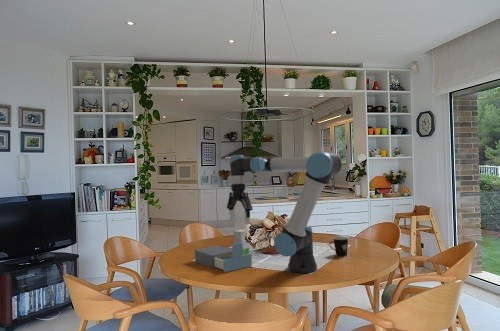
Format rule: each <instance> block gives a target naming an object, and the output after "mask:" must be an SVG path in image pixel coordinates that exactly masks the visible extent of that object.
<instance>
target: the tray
mask: <svg viewBox="0 0 500 331" xmlns="http://www.w3.org/2000/svg"><path fill="white" fill-rule="evenodd" d="M231 248H232V253H228V254H223V255H218V256H213V258H214V266H215V267H217V269H220V270H223V273H227V272H232V271H233V272H234V271H237V270H241V269H244V268H248V267H252V265H253V262H252V258H253V256H252V253H250V254H247V255H243V246H242V243H236V244H234V243H233V244H231Z"/></svg>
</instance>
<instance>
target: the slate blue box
mask: <svg viewBox="0 0 500 331" xmlns="http://www.w3.org/2000/svg"><path fill="white" fill-rule="evenodd" d="M228 253H232V247H228V246H226V245H225V246H224V245H221V244H218V245H214V246H209V247H203V248H198V249H194V261H195V262H196V263H197V264H200V265H203V266H206V267H208V268H211V269H216V268H217V267H215V266H214V258H213V256H218V255H223V254H228ZM217 269H218V268H217Z"/></svg>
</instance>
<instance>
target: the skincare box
mask: <svg viewBox="0 0 500 331" xmlns="http://www.w3.org/2000/svg"><path fill="white" fill-rule="evenodd" d="M246 230H247V229H237V230H233V231H232V232H233V244H236V243H242V246H243V255H247V254H251V253H250V242H249V243H247V242H246V240H245V235H246Z"/></svg>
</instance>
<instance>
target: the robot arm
mask: <svg viewBox="0 0 500 331" xmlns="http://www.w3.org/2000/svg"><path fill="white" fill-rule="evenodd" d="M229 166H230V183H231V185H230V187H231V189H230V190H231V192H229V197H228V200H227V204H226V209H228V211H229V222H230V223H234V222H235V221H236V219H235V218H236V217H235V216H236V215H235V206H236V204H237V202H240V203H241V205H242V207H243V209H244V224H245V225H248V224H251V211H253V205H252V202H251V200H250V197H249V193H248V192H245V190H246V184H245V182H246V180H245V179H246V178H245V173H259V172H288V173H289V172H293V173H295V172H298V173H299V172H300V173H301V172H305V174H304V176H305V178H306V180H305V182H304V185H303V187H302V189H301V192H300V194H299V197H298V198H297V202H296V204H295V206H294V208H293V211H292V213H291V215H290V218H289V220H288V222H286V223H284V224H283V226H282V228H281V230H280V233H278V234H277V235H276V236H275V237H274V240H273V245H274V248H275V251H277V253H278V254H279V255H281V256H282V257H289V259H288V260H289V261H288V263H287V270H288V271H289V272H292V273H296V274H297V273H298V274H306V273H308V274H309V273H313V272H316V271H317V270H318V265H317V262H316V259H315V256H314V244H313V228H312V226H311V225H308V223H309V221H310V219H311V216H312V214H313V211H314V209H315V207H316V205H317V202H318V200H319V197H320V196H321V194H322V190H323V189H324V187H325V186H327V185H329V183H330V181H331V178H332V177H334V176H336V175H337V174H339V172H340V171H341V170H342V167H343V164H342V159H341V157H340V156H339V155H338V154H336V153H335V152H330V151H329V152H327V151H317V152H314V153H313V154H312V153H311V155H310V156H304V157H297V156H296V157H259V156H256V157H255V156H254V157H247V158H245V157H244V155H243V154H237V155H236V154H234V155H231V156H230V158H229Z"/></svg>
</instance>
